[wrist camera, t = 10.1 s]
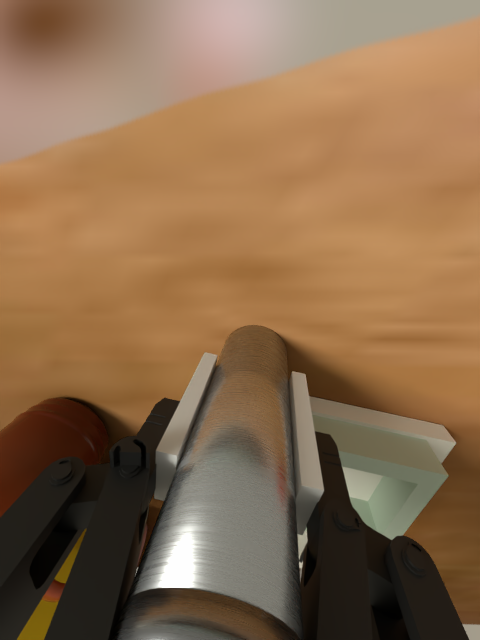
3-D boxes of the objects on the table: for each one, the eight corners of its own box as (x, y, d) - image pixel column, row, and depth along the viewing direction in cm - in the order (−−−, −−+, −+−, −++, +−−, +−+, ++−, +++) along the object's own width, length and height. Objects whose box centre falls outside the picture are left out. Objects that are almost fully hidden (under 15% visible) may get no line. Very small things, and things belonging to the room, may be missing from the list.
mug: (16, 420, 24) (-145, 553, 15) (52, 366, 21) (-128, 494, 12) (121, 488, 26) (37, 641, 17) (169, 449, 23) (96, 613, 14)
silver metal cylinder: (219, 373, 19) (73, 791, 5) (227, 318, 17) (38, 749, 4) (279, 386, 19) (281, 857, 5) (294, 332, 17) (359, 850, 3)
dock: (443, 425, 18) (487, 485, 14) (373, 528, 24) (392, 591, 20) (275, 388, 19) (274, 436, 15) (245, 496, 24) (238, 552, 20)
